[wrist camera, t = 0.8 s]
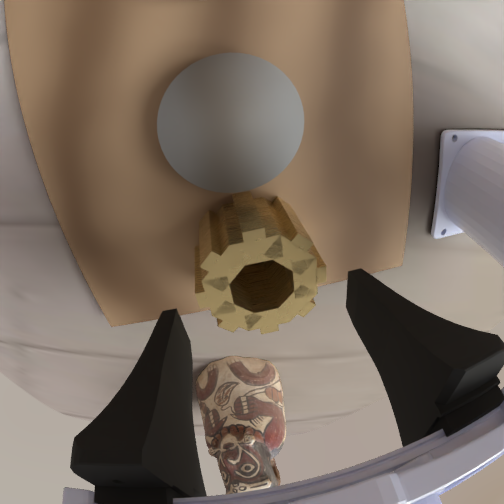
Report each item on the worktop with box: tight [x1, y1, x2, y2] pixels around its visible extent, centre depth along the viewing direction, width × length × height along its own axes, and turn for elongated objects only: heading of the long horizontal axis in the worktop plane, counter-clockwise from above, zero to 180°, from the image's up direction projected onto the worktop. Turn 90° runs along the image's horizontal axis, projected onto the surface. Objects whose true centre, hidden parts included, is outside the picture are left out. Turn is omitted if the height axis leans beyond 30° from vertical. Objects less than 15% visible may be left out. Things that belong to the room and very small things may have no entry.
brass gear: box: [195, 191, 327, 334], centre depth 16 cm, size 6×6×4 cm
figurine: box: [196, 356, 286, 494], centre depth 21 cm, size 7×7×12 cm
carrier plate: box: [4, 0, 413, 327], centre depth 13 cm, size 20×22×5 cm
